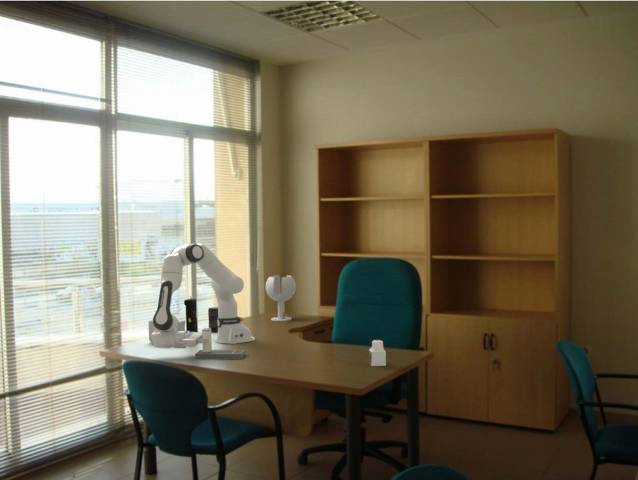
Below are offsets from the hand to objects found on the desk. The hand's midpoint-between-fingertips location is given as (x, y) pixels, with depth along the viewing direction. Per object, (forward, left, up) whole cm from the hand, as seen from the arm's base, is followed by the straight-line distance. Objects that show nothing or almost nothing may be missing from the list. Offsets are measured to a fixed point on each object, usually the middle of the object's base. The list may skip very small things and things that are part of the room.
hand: (208, 339), depth 354 cm
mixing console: (-5, +3, -9) cm, 11 cm away
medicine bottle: (-66, +59, -9) cm, 89 cm away
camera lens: (-25, -70, -9) cm, 75 cm away
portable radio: (-7, -60, -9) cm, 61 cm away
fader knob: (+1, 0, -6) cm, 6 cm away
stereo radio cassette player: (+10, -49, -9) cm, 51 cm away
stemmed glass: (-79, -91, -9) cm, 121 cm away
